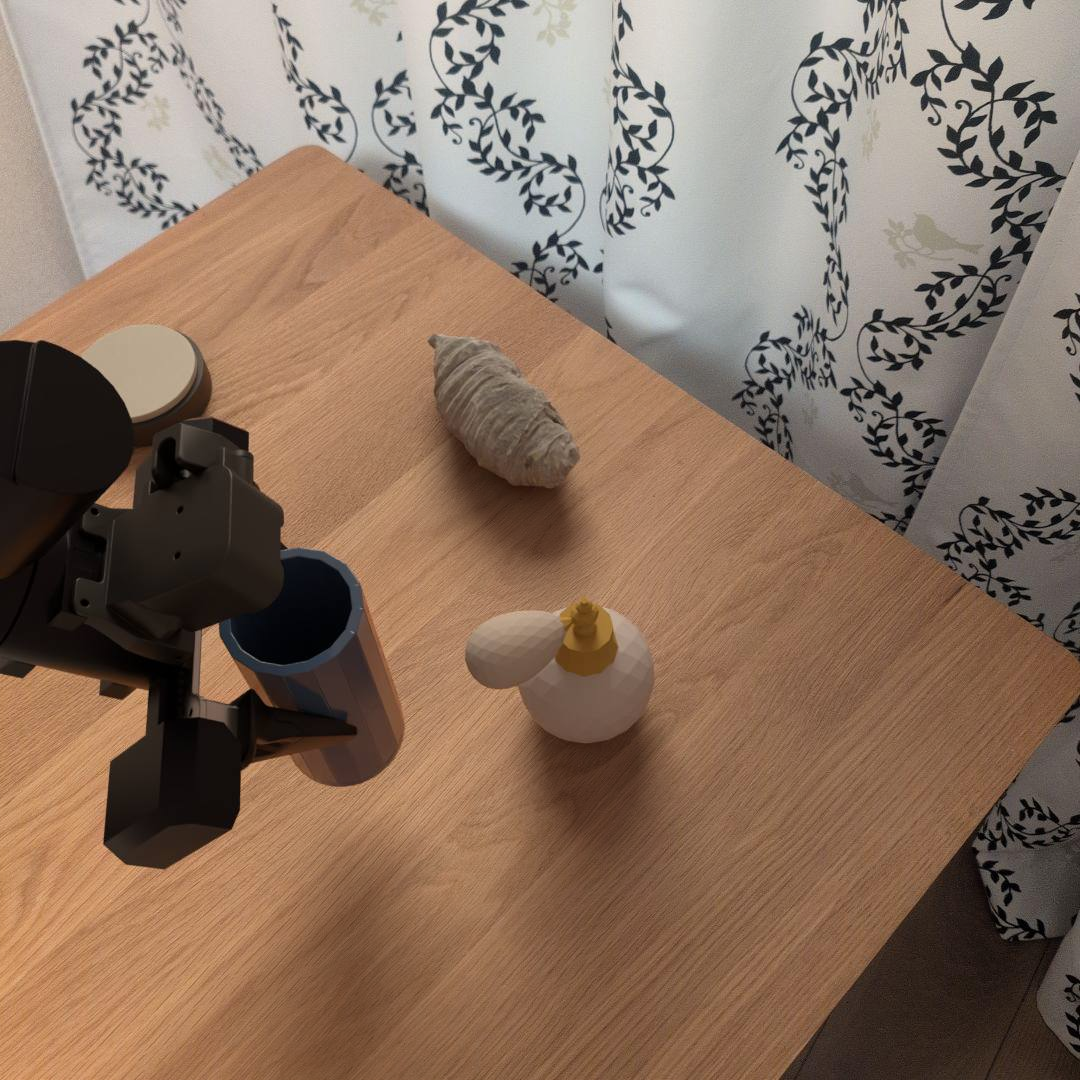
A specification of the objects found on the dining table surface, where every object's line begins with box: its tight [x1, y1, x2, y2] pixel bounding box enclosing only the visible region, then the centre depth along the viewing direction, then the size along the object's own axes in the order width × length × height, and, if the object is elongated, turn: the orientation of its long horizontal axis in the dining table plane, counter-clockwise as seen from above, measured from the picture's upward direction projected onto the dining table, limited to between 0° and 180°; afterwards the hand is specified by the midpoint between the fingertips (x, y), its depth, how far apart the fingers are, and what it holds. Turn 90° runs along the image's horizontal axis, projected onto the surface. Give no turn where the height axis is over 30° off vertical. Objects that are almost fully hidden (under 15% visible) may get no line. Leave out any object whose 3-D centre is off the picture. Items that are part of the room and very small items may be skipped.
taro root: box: [427, 333, 581, 489], centre depth 73 cm, size 6×14×8 cm, turn 36°
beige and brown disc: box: [80, 323, 213, 448], centre depth 78 cm, size 9×9×3 cm
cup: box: [218, 546, 406, 788], centre depth 53 cm, size 6×6×13 cm
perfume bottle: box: [464, 596, 655, 744], centre depth 60 cm, size 8×10×12 cm
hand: (350, 671), depth 53 cm, fingers closed on cup, 6 cm apart
